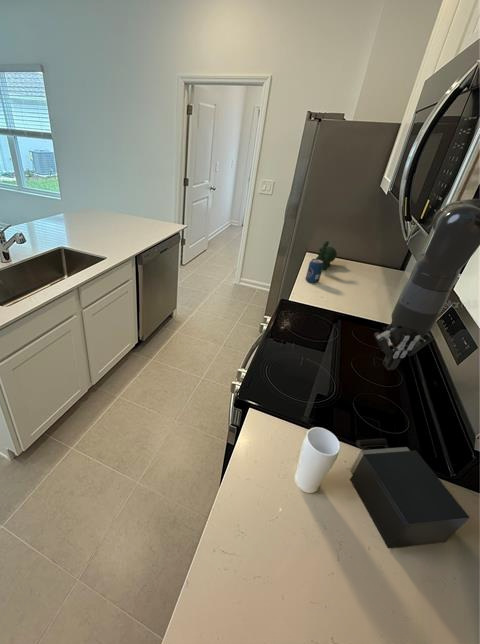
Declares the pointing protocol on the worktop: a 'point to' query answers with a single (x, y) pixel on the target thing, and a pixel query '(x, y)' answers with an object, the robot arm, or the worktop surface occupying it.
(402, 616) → the worktop surface
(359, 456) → the drawer
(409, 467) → the cabinet
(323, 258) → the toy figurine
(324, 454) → the drinking glass
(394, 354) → the robot arm
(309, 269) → the soda can
